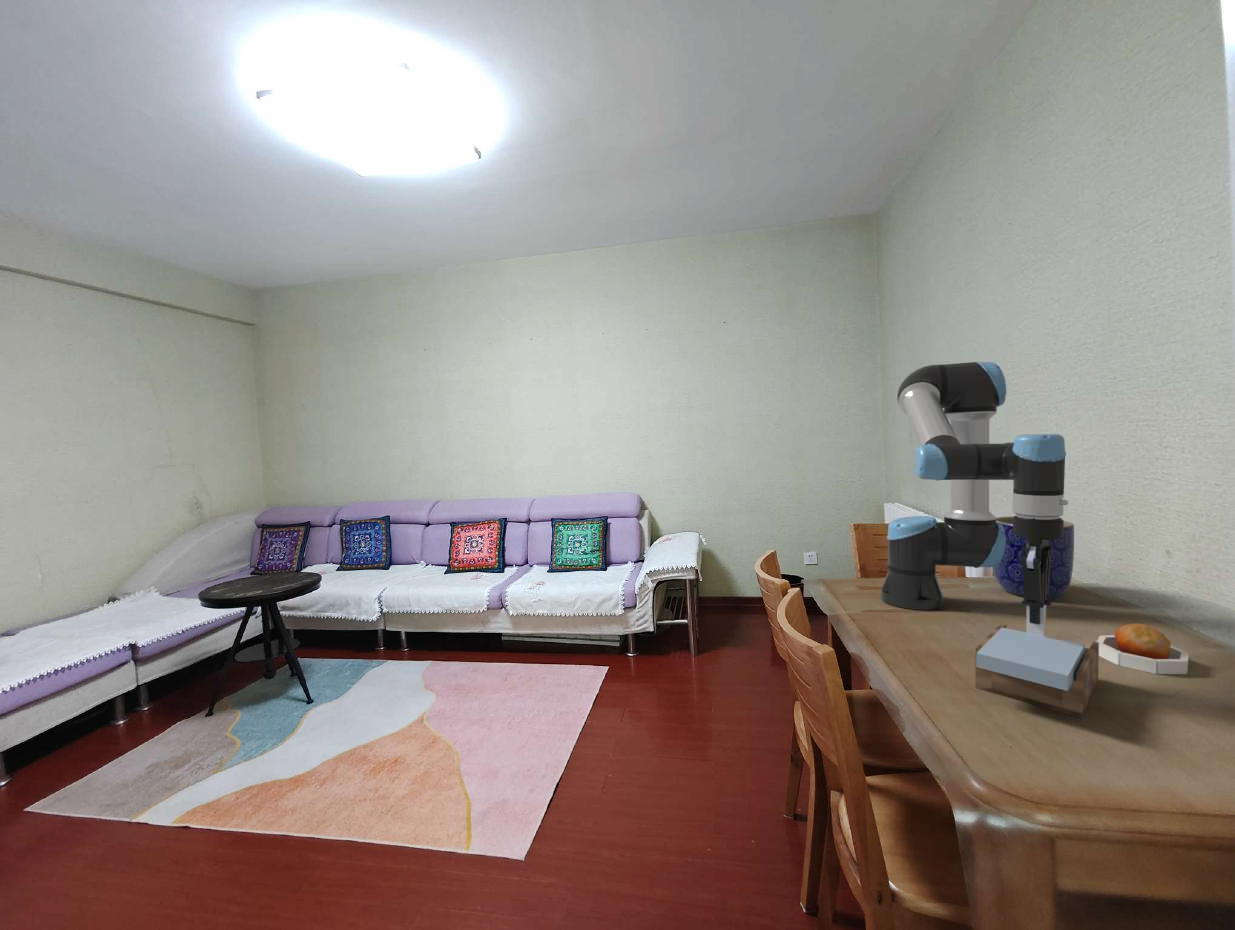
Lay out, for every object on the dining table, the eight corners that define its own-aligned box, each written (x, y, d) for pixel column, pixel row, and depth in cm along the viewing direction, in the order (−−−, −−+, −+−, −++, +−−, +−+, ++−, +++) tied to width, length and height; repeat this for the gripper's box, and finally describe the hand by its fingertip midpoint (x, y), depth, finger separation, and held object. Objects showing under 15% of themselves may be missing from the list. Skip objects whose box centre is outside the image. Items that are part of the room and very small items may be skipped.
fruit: (1148, 643, 112) (1161, 618, 108) (1168, 676, 106) (1183, 651, 101) (1100, 639, 115) (1112, 615, 110) (1117, 672, 108) (1130, 647, 104)
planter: (1091, 602, 142) (1093, 526, 141) (1022, 604, 143) (1023, 528, 141) (1037, 582, 161) (1039, 515, 159) (976, 584, 161) (977, 517, 160)
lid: (1001, 639, 105) (1001, 627, 105) (1084, 658, 96) (1084, 644, 96) (976, 666, 94) (976, 653, 94) (1067, 690, 84) (1067, 675, 84)
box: (1001, 658, 110) (1001, 622, 110) (1097, 681, 99) (1098, 642, 99) (975, 687, 98) (975, 647, 98) (1081, 718, 87) (1082, 673, 87)
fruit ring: (1093, 659, 108) (1093, 647, 108) (1102, 641, 117) (1102, 630, 117) (1186, 680, 99) (1186, 667, 98) (1188, 659, 107) (1189, 647, 107)
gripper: (1056, 522, 93) (1054, 654, 94) (1069, 513, 102) (1067, 634, 103) (1004, 518, 99) (1003, 643, 100) (1021, 510, 107) (1019, 624, 109)
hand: (1035, 638), depth 101 cm, fingers closed
